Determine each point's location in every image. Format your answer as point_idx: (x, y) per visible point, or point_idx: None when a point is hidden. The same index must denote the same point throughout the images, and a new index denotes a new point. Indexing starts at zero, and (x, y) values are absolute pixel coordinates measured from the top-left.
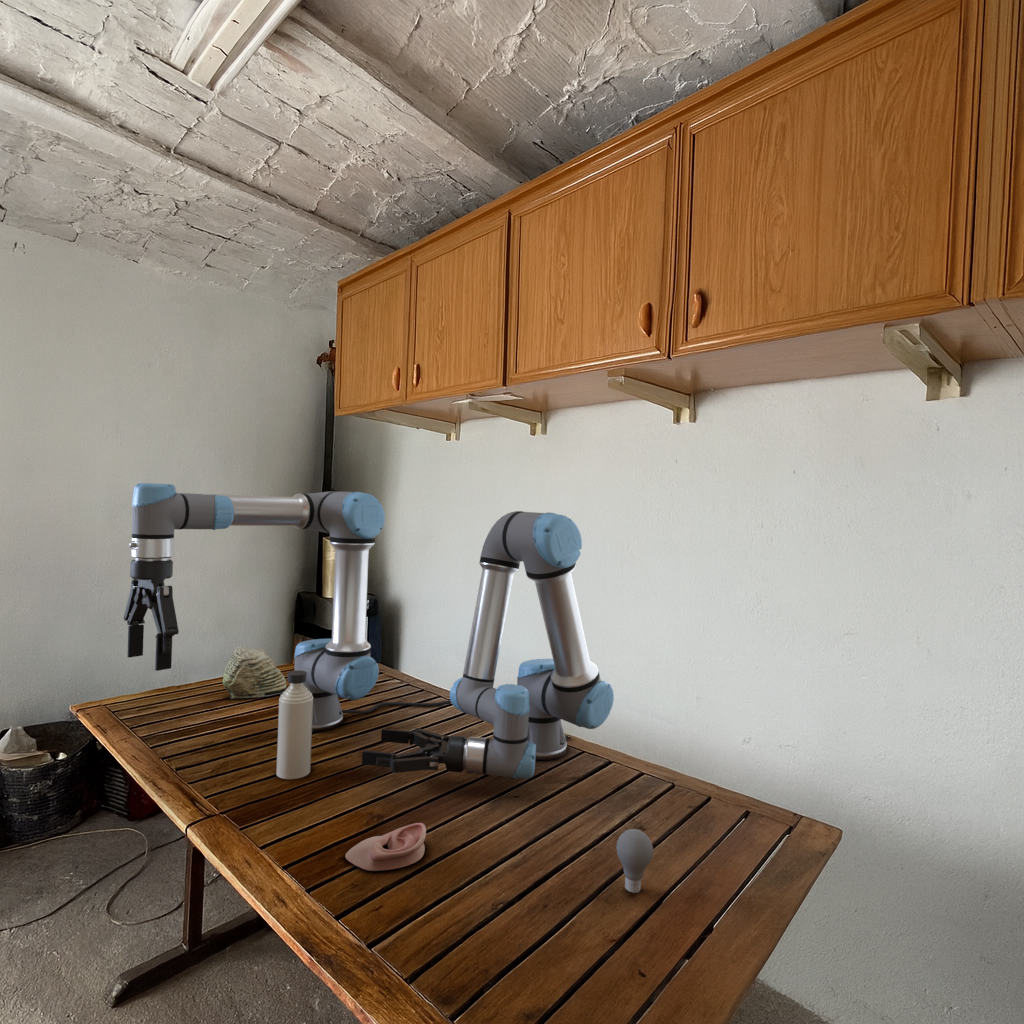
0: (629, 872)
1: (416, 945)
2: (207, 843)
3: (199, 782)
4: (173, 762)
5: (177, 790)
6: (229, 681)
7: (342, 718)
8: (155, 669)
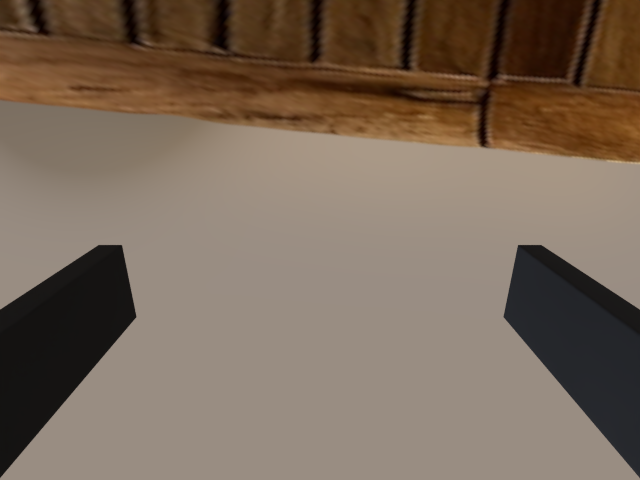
0: None
1: None
2: (564, 151)
3: (326, 41)
4: (174, 33)
5: (330, 96)
6: None
7: None
8: (509, 319)
